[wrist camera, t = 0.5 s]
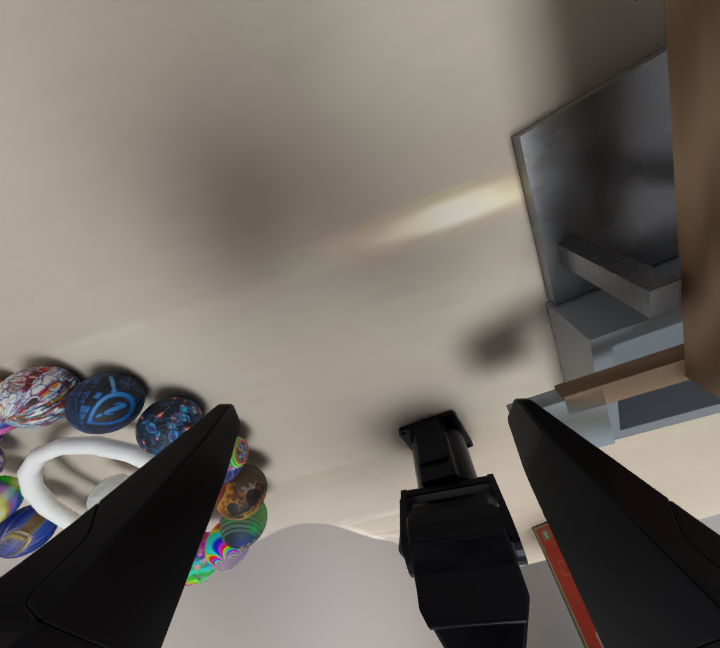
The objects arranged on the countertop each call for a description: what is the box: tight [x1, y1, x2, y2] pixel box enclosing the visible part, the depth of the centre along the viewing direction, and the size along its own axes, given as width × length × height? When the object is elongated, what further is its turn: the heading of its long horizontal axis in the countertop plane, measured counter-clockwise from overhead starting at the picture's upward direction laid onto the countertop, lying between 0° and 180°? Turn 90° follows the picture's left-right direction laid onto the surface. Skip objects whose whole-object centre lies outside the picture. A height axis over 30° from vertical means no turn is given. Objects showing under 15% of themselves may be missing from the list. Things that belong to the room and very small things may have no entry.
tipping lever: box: [506, 0, 720, 448], centre depth 12 cm, size 23×16×4 cm
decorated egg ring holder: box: [0, 366, 267, 586], centre depth 33 cm, size 35×35×9 cm
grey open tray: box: [546, 255, 720, 440], centre depth 21 cm, size 12×12×5 cm
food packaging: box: [532, 522, 604, 648], centre depth 32 cm, size 13×9×25 cm
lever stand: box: [512, 46, 682, 318], centre depth 14 cm, size 12×12×8 cm
